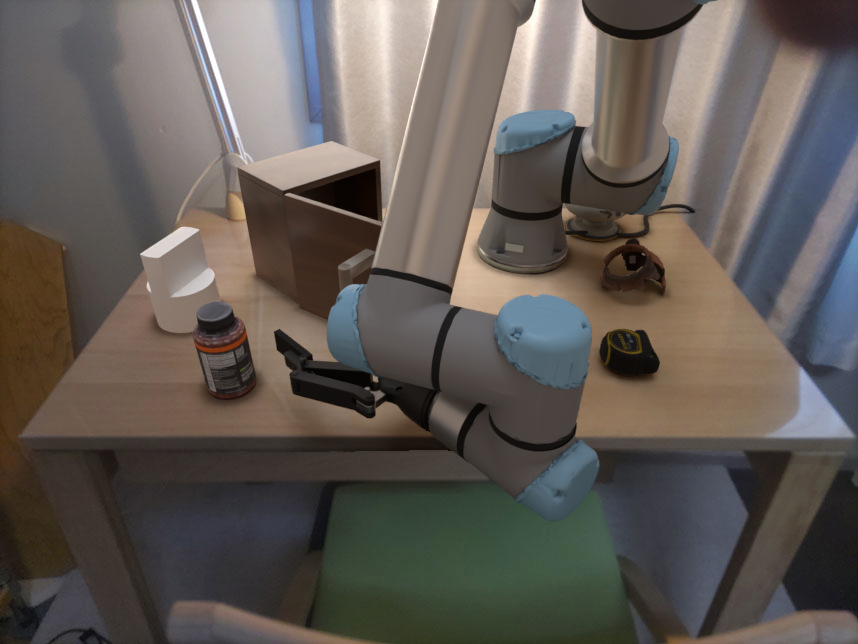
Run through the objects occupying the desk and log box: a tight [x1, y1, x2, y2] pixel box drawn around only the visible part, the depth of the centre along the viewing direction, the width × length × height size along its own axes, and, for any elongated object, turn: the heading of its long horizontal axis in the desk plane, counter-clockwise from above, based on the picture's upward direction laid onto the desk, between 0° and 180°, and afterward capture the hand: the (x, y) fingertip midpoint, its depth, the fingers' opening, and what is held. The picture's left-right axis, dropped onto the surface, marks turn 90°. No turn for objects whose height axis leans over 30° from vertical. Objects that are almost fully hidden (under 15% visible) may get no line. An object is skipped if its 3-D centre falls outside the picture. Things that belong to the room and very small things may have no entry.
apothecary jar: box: [563, 203, 627, 242], centre depth 106 cm, size 12×12×18 cm
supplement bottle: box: [192, 301, 257, 400], centre depth 72 cm, size 6×6×11 cm
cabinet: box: [236, 140, 384, 305], centre depth 93 cm, size 12×17×18 cm
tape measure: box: [598, 328, 661, 377], centre depth 78 cm, size 7×7×4 cm
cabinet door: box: [284, 193, 383, 320], centre depth 79 cm, size 7×17×18 cm, turn 56°
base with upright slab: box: [139, 226, 222, 334], centre depth 84 cm, size 9×9×12 cm
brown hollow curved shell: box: [600, 237, 667, 296], centre depth 94 cm, size 12×10×8 cm
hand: (326, 316), depth 73 cm, fingers open, 13 cm apart
